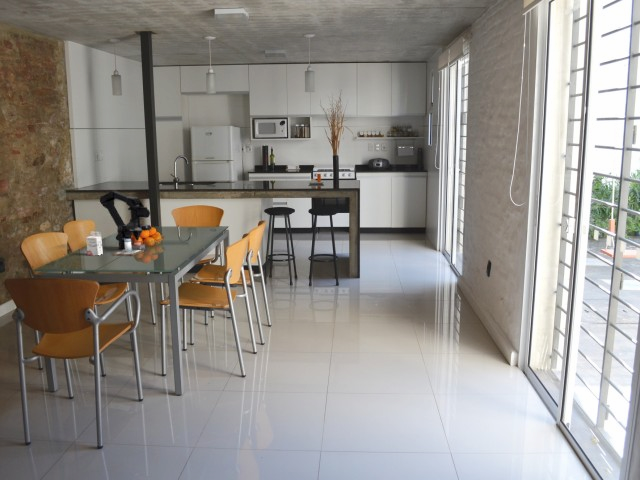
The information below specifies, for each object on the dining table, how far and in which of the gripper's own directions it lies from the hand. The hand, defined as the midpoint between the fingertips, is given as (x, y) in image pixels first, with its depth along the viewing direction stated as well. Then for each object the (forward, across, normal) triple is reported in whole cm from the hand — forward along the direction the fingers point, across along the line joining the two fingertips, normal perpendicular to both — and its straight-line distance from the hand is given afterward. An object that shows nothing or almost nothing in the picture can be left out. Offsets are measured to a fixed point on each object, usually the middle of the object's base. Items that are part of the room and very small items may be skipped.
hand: (137, 240), depth 397 cm
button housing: (+6, 0, 0) cm, 6 cm away
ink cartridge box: (+7, -20, -18) cm, 28 cm away
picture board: (+6, 0, -12) cm, 13 cm away
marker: (+5, 0, -12) cm, 13 cm away
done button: (+4, 0, 0) cm, 4 cm away
